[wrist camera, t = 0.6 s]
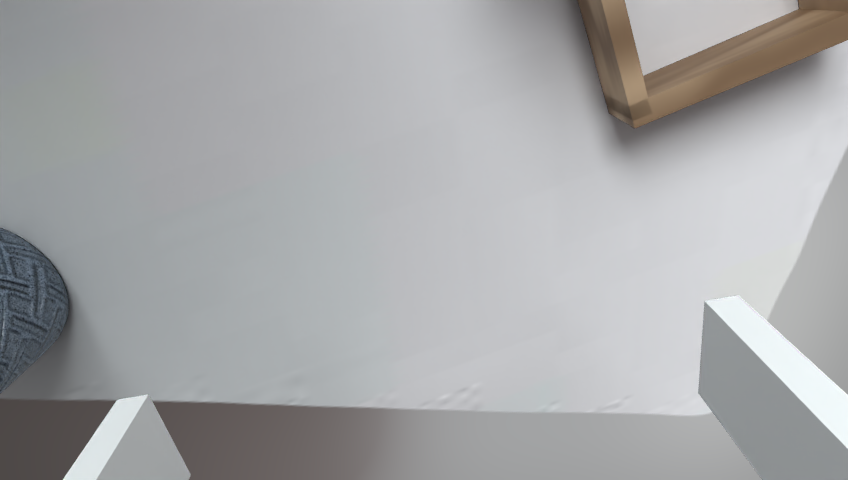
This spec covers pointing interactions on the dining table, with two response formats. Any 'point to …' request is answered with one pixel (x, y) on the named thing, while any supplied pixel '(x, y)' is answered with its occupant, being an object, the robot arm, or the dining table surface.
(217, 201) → the dining table surface
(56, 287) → the vase
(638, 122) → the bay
